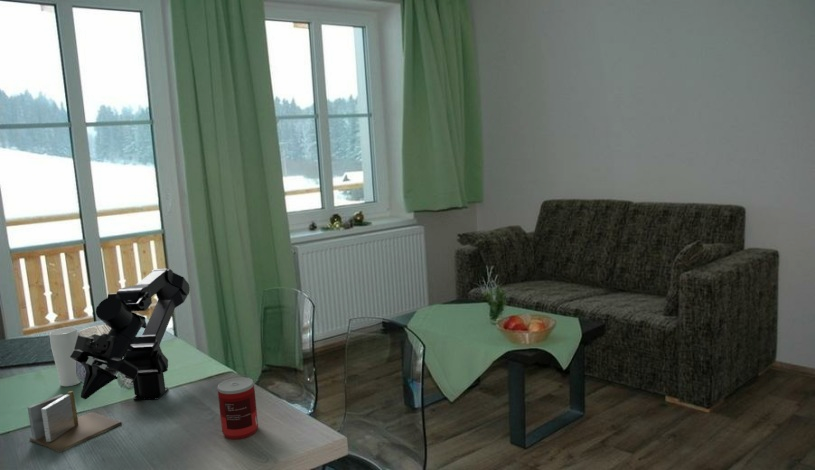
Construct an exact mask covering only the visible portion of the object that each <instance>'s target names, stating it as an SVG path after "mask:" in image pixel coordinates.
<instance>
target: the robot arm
mask: <svg viewBox="0 0 815 470" xmlns="http://www.w3.org/2000/svg"><path fill="white" fill-rule="evenodd" d="M154 295H155V296H156V298H157V301H156V304H155V306H154V307H153V310H152V312H151V315H150V318H149V319H148V321H147V322H146V317H145V316H143V315H140V314H137V313H136V312H146V311H147V310H148V309H149V307H151V305H152V303H153V301H152V299H153V296H154ZM188 295H190V284H189V282H188V281H187V280H186V278H185V276H182V275H179V274H177V273H176V272H174V271H173V270H172V269H171V268H154V269H151V271H150V273H149V274H148V275H146V276H145V277H144V278H142V279H141V280H140V281H138V282H137V283H135V284H133V285H130V286H125V287H122V288H120V289H117V291H116V293H108V294H107V298H104V299H102V300H101V301H100V302H99V304H98V305H97V306H96V308H95V314H96V317H97V318H98V319H99V320H100V321H102V322H103V323H104V324H106V325H108V326H109V327H110V328H111V330H110V331H109V333H108V334H102V335H101V336H100V335H96V336H95V337H94V338H93V337H86V336H80V335H78V337H77V341H76V344H75V348H74V349H75V350H74V351H73V353H72V354H71V356H70V358H72V359H74V360H76V361H77V362H79V363H80V365H81V366H83V367H84V371H85V376H84V382H83V385H82V390H81V393H80V398H81V399H82V400H87V399H88V398H90V397H91V396H92V395H94V394H96V393H97V392H98V391H99V390H101V389H102V388H104V387H105V386H107V385H108V384H110V383H111V382H113V381H115V380H118V378H119V377H118V376H117V375H118V373H120V374H122V375H123V376H124V377H125V379H128V380H132V386H133V391H134V395H135V396H134V397H133V400H134V401H139V400H140V401H143V400H147V401H148V400H158V399H160V398H161V397H162V396H163V395H164V394H165V393H167V391H168V390H169V387H167V386H166V385H165V384H166V383H165V376H164V373H166V372H168V370H169V369H168V368H169V359H168V358H167V357H166V355H165V354H164V353H163V351H162V348H161V343H162V340H163V337H164V335H165V333H166V330H167V328H168V325H169V323H170V320H171V318H172V317H173V314H174V311H175V309H176V308H178V307H179V306H180V305H182V304H184V303H185V300H186V299H187V297H188ZM142 328H143V329H144V330H143V333H142V335H141V336H137V335H138V334H139V332H140V330H141V329H142Z"/></svg>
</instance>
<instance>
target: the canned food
mask: <svg viewBox="0 0 815 470" xmlns="http://www.w3.org/2000/svg"><path fill="white" fill-rule="evenodd" d="M217 398H218V406H219V414H220V422H221V423H220V425H221V430H222V431H221V432H222V434H223V435H224V437H225V438H227V439H229V440H241V439H247V438H248V437H251V436H253V435H254V434H256V432H257V431H258V428H259V420H258V412H257V411H258V410H257V399H256V390H255V383H254V380H253V379H252V378H249V377H241V376H240V377H232V378H228V379H226V380H223V381H221V382H220V383H218V385H217Z"/></svg>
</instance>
